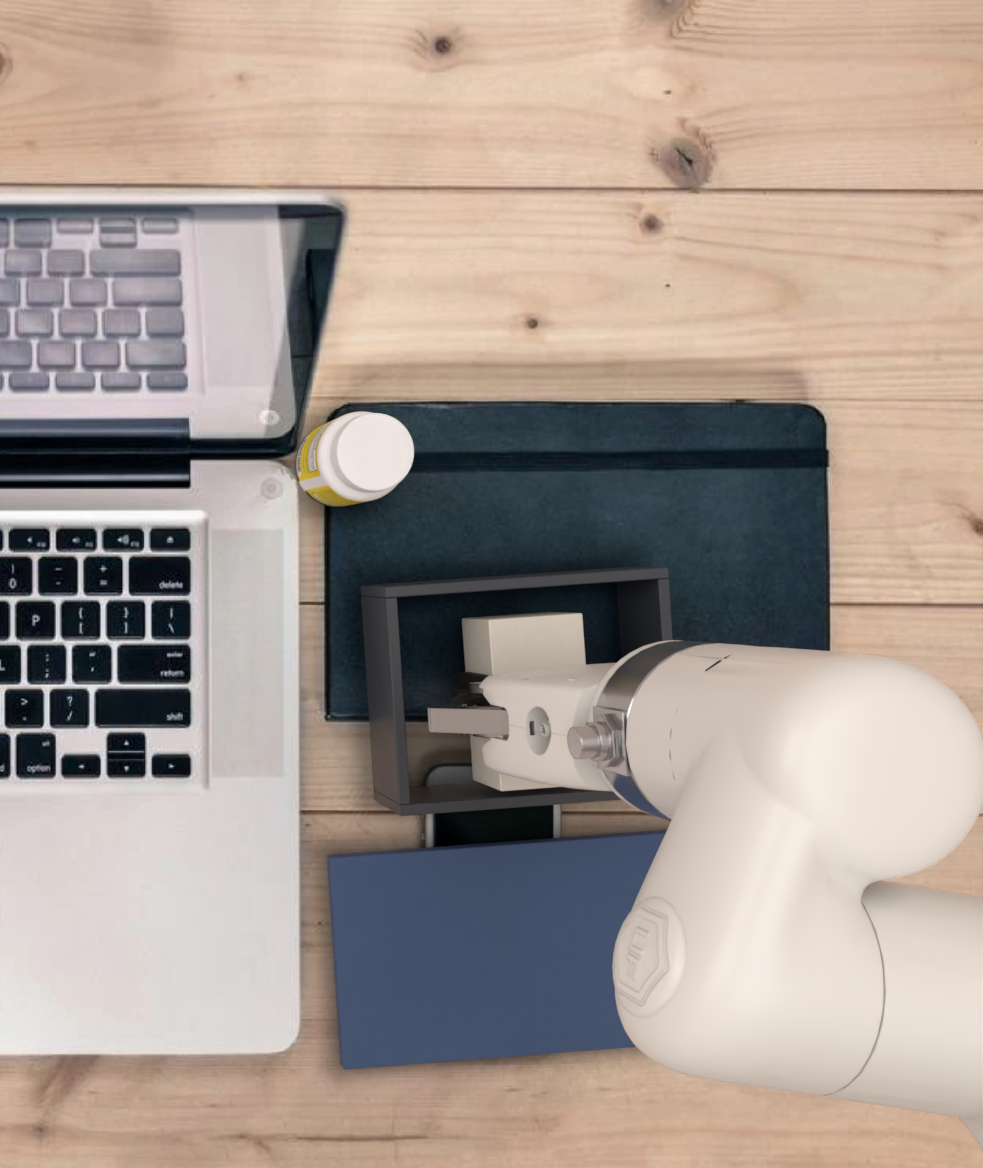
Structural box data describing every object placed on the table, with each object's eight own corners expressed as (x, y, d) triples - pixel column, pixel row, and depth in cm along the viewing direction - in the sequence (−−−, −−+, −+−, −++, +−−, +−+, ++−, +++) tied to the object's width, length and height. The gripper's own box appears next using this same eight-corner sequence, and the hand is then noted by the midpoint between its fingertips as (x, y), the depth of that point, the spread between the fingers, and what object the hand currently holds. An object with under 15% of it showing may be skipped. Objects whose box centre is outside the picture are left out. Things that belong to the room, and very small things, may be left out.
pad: (681, 1033, 76) (695, 1042, 75) (337, 1060, 76) (344, 1070, 74) (668, 826, 76) (682, 831, 75) (323, 852, 76) (330, 858, 74)
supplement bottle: (389, 481, 75) (439, 470, 67) (318, 522, 75) (359, 517, 67) (347, 408, 75) (393, 388, 67) (276, 449, 75) (312, 434, 67)
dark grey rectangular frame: (632, 778, 76) (682, 795, 71) (370, 798, 76) (400, 816, 70) (619, 566, 76) (668, 567, 70) (356, 585, 76) (385, 586, 70)
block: (561, 774, 73) (595, 784, 69) (472, 780, 73) (500, 791, 69) (550, 611, 73) (582, 613, 69) (461, 618, 73) (488, 619, 69)
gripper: (494, 839, 54) (366, 776, 72) (901, 808, 55) (673, 753, 73) (481, 656, 54) (356, 639, 72) (888, 626, 55) (663, 617, 73)
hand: (517, 697), depth 72 cm, fingers closed on block, 5 cm apart
